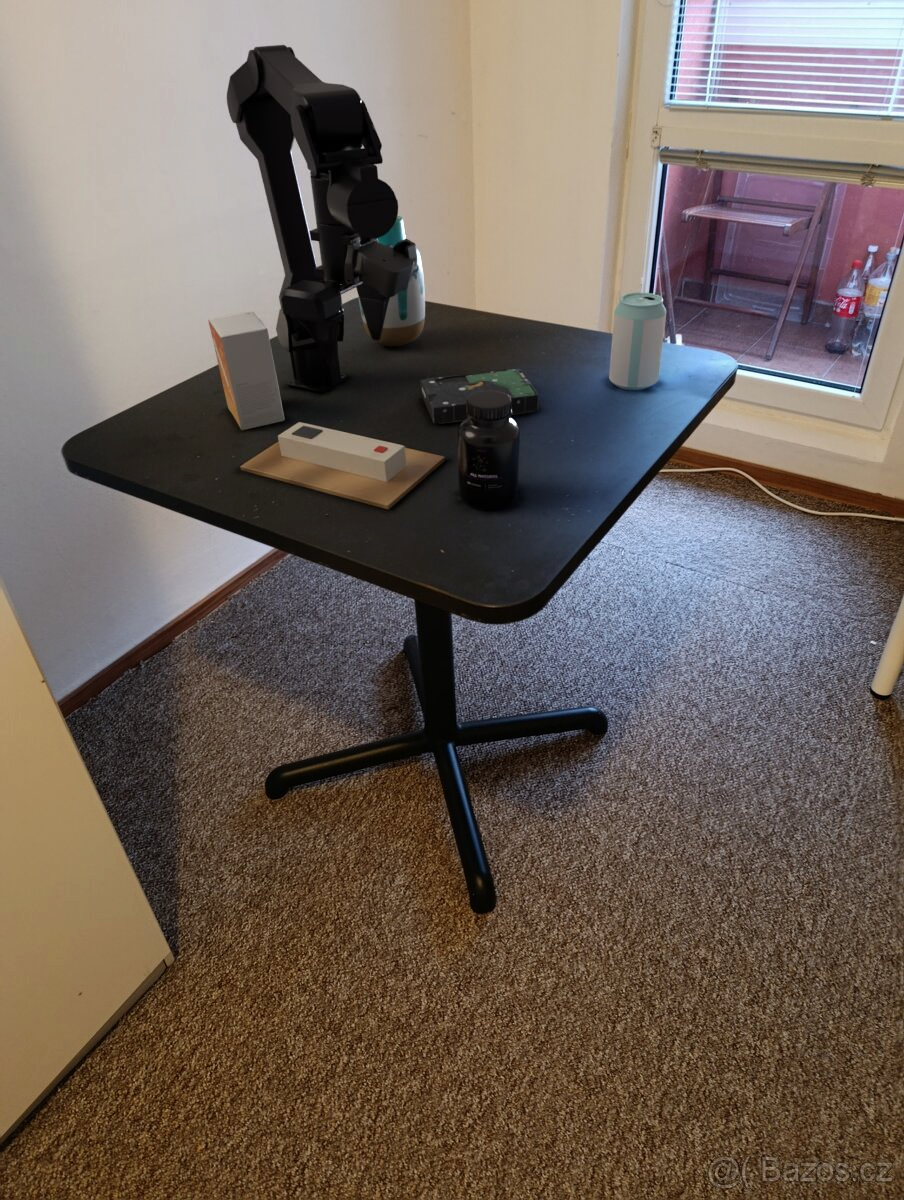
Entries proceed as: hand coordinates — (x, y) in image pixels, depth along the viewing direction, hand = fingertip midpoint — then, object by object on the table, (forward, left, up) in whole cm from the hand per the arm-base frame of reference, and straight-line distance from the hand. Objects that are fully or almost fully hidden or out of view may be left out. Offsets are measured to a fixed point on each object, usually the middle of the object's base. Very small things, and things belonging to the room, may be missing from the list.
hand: (355, 351), depth 102 cm
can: (+27, +29, -11) cm, 42 cm away
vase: (-14, +29, -11) cm, 34 cm away
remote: (+3, -10, -10) cm, 14 cm away
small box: (-17, -3, -11) cm, 20 cm away
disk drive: (+10, +13, -11) cm, 20 cm away
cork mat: (+3, -10, -11) cm, 15 cm away
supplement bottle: (+23, -9, -11) cm, 27 cm away
